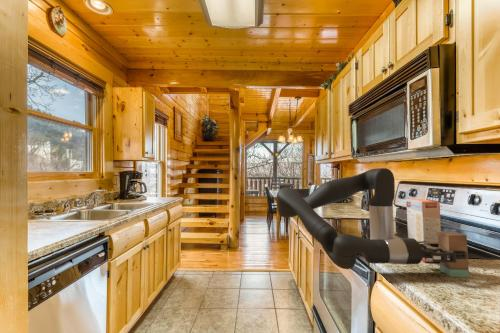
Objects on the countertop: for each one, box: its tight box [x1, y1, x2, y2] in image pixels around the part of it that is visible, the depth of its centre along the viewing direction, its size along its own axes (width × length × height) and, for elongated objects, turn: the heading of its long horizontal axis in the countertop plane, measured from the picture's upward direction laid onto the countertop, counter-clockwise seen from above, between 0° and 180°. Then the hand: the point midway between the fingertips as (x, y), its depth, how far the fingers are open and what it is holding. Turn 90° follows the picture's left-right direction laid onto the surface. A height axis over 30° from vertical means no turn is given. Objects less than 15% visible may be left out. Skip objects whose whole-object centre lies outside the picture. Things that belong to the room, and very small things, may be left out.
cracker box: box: [406, 198, 442, 263], centre depth 96 cm, size 14×6×21 cm, turn 168°
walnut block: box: [438, 231, 470, 278], centre depth 79 cm, size 5×5×12 cm
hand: (455, 250), depth 79 cm, fingers open, 8 cm apart
